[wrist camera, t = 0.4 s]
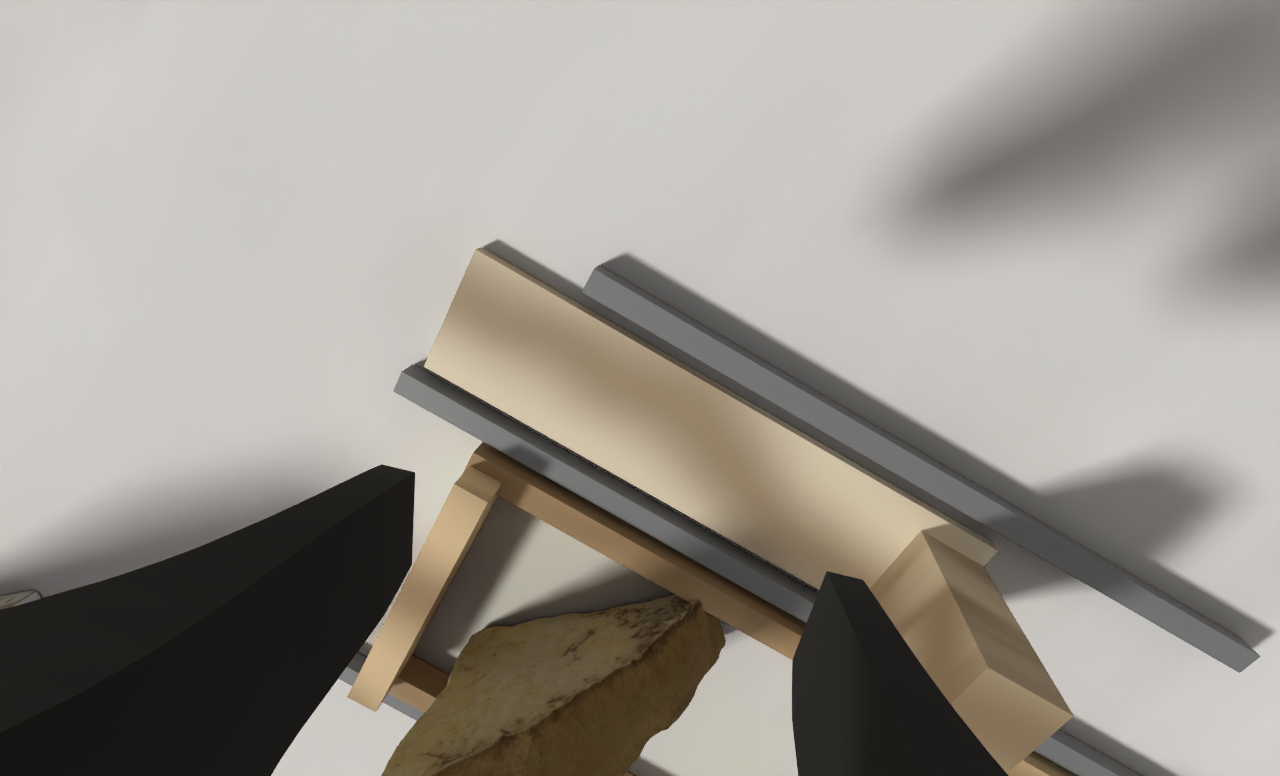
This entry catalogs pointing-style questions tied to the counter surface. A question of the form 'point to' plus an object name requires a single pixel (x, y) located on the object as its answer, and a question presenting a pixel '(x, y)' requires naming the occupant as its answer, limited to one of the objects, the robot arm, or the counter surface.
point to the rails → (843, 425)
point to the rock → (564, 693)
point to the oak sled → (588, 524)
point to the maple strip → (752, 486)
